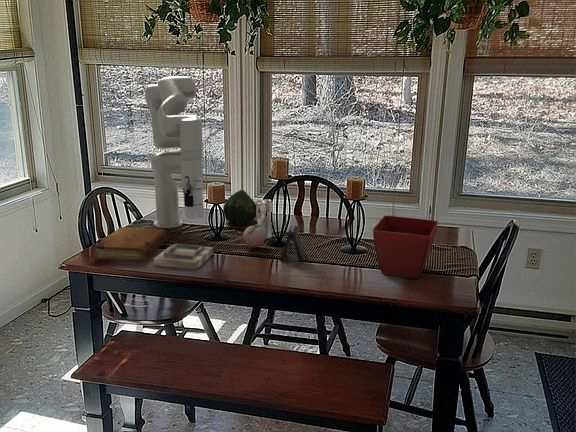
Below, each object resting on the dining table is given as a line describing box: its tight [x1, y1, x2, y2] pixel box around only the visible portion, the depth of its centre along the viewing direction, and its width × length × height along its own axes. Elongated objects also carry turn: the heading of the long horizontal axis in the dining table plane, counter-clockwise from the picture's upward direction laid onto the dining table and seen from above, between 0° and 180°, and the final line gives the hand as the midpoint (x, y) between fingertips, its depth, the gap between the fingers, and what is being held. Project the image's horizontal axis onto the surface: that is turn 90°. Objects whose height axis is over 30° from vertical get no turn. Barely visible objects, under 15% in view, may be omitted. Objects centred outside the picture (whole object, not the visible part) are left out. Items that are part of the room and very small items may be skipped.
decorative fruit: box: [242, 223, 266, 249], centre depth 222 cm, size 9×8×10 cm
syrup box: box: [184, 177, 205, 220], centre depth 206 cm, size 6×6×14 cm
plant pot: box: [372, 215, 439, 280], centre depth 201 cm, size 19×19×17 cm
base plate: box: [153, 243, 214, 270], centre depth 212 cm, size 16×16×4 cm
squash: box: [222, 189, 256, 227], centre depth 254 cm, size 14×15×15 cm
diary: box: [94, 226, 167, 263], centre depth 221 cm, size 23×19×6 cm
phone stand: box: [278, 225, 307, 263], centre depth 212 cm, size 9×6×12 cm, turn 80°
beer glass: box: [255, 198, 274, 240], centre depth 235 cm, size 7×7×15 cm
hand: (193, 202), depth 206 cm, fingers closed on syrup box, 8 cm apart
